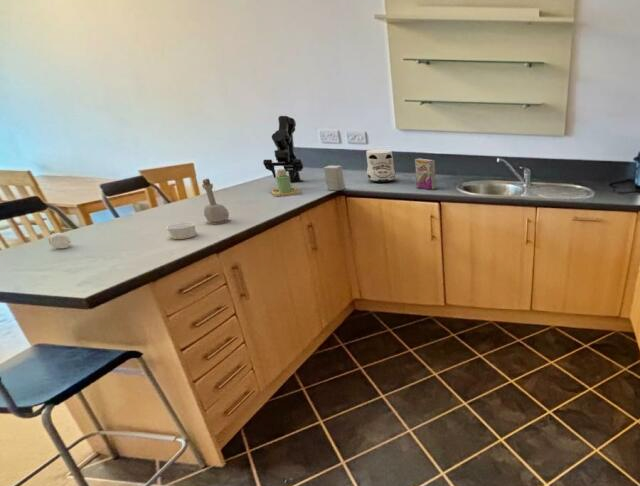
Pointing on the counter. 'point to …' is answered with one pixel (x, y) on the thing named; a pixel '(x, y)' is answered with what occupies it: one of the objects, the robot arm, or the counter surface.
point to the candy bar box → (425, 174)
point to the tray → (276, 193)
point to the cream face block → (380, 166)
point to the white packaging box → (334, 177)
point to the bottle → (284, 184)
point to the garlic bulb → (59, 240)
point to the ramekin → (182, 230)
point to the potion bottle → (214, 206)
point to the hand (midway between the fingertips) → (284, 177)
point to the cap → (281, 172)
